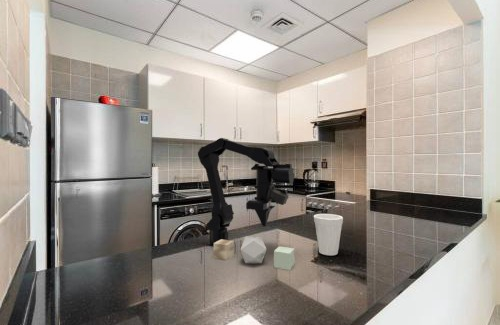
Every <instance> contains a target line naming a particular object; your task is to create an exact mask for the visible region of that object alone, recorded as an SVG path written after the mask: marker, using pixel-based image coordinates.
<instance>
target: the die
mask: <svg viewBox="0 0 500 325" xmlns="http://www.w3.org/2000/svg"><path fill="white" fill-rule="evenodd" d="M240 252H241V254H242V258H243V261H244V263H245V264H247V265H249V264H262V263H263V260H264V258H265V255H266V252H267V247H266V245H265V243H264V240H263V237H262V236H245V237H244V239H243V241H242V245H241V247H240Z"/></svg>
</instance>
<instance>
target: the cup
mask: <svg viewBox="0 0 500 325" xmlns="http://www.w3.org/2000/svg"><path fill="white" fill-rule="evenodd" d="M313 221H314V224H315V225H314V226H315V232H316V239H317V244H318V251H319V254H322V255H324V256H336V255H338V253H339V248H340V239H341V233H342V227H343V223H344V217H343V216H342V215H338V214H335V213H334V214H333V213H317V214H314V215H313Z"/></svg>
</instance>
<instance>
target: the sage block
mask: <svg viewBox="0 0 500 325" xmlns="http://www.w3.org/2000/svg"><path fill="white" fill-rule="evenodd" d="M294 265H295V248H294V247H286V246H278V247H277V248H275V249H274V251H273V268H274V269H275V268H276V269H282V270H286V271H291V270H292V268H293V267H294Z"/></svg>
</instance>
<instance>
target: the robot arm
mask: <svg viewBox="0 0 500 325" xmlns="http://www.w3.org/2000/svg"><path fill="white" fill-rule="evenodd" d="M226 150H227V151H230V152H233V153H236V154H240V155H241V156H245V157H248V158H249V159H250V160H252V161H254V162H255V164H254V165H253V166H252V167H251V168H250V170H252V171H256V185H254V189H256V196H254V199H253V198H252V199H250V200H248V201H247V202H246V204H245V208H246V209H247V210H254V211H255V213H256V215H257V217H258V219H259V221H260V223H261V226H262V227H266V226H267V223H268V220H269V217H270V214H271V211H272V210H273V209H274V208H275V207H276V206H275V205H272V203H273V204H277V205H280V206H283V205H286V204H287V202H288V199H289V198H290V197H289V194H288V191H287V190H286V189H281V190H276V186H275V185H273V181H274V182H275V184H293V183H294V180H295V173H294V169H293V167H292V166H293V164H291V163H285V164H283V163H282V164H280V163H279V161H278V160H277V158H276V157H275V152H274V151H273V149H270V148H265V147H258V146H249V145H246V144H243V143H240V142H237V141H233V140H230V139H228V138H223V137H220V138H218V139H217V140H215V141H212V142H211V143H208V144H206V145H205V146H201V147H200V148H199V150H198V151H197V157H198V159H199V161H200V162H199V163H201V165H202V166H203V168H204V169H205V172H206V178H207V181H208V182H207V183H208V185H209V186H208V187H209V190H210V195H211V200H212V203H213V204H212V209H211V218H210V220H209V221H208V222H207V223H206V229H207V231H209V242H207V245H208V246H213V247H214V243H215V242H217V241H219V240H221V239H223V240H229V232H228V228H229V227H230V226H231V223H232V221H233V220H234V215H235V213H234V211H233V204H232V203H231V204H230V203H229V204H228V203H227V202H226V198H225V194H224V189H223V186H222V182H221V176H220V171H219V168H218V167H219V166H218V165H219V162H220V156H221V155H223V154H224V152H225V151H226ZM269 167H272V168H269Z"/></svg>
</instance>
